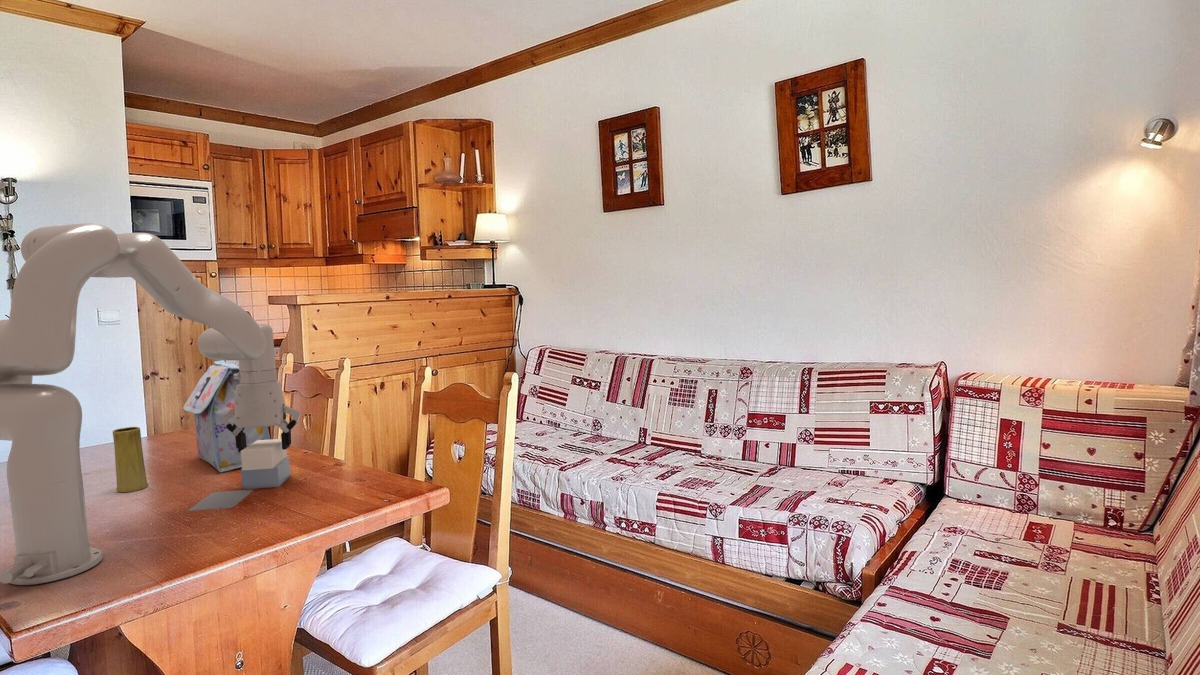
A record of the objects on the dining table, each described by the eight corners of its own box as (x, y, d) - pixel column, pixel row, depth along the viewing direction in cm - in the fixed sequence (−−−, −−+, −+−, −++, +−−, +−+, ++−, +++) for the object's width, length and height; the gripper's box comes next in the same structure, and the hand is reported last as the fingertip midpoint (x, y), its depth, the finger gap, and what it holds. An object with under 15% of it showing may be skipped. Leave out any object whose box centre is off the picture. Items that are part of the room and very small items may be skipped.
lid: (272, 468, 152) (271, 449, 151) (242, 470, 151) (240, 451, 150) (287, 456, 161) (285, 438, 161) (258, 458, 161) (257, 440, 160)
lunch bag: (185, 460, 181) (176, 363, 178) (252, 447, 192) (245, 356, 189) (204, 477, 164) (195, 370, 162) (277, 462, 175) (269, 362, 173)
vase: (131, 493, 153) (125, 432, 152) (109, 492, 154) (103, 432, 153) (154, 484, 159) (148, 426, 158) (132, 484, 160) (126, 426, 159)
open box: (279, 488, 153) (277, 466, 153) (242, 490, 152) (240, 469, 152) (290, 477, 161) (289, 457, 161) (255, 480, 160) (254, 459, 160)
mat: (233, 509, 140) (232, 507, 140) (187, 512, 139) (187, 510, 139) (254, 491, 152) (254, 489, 152) (212, 494, 150) (212, 492, 150)
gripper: (211, 382, 149) (218, 456, 151) (292, 377, 152) (298, 451, 153) (225, 376, 157) (231, 447, 158) (302, 373, 159) (307, 443, 161)
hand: (264, 449), depth 156 cm, fingers open, 9 cm apart
